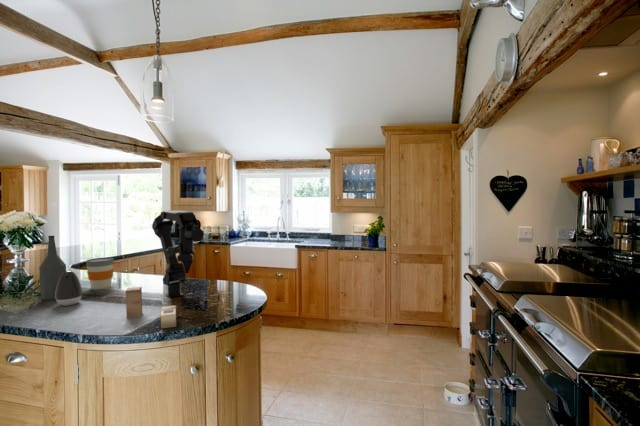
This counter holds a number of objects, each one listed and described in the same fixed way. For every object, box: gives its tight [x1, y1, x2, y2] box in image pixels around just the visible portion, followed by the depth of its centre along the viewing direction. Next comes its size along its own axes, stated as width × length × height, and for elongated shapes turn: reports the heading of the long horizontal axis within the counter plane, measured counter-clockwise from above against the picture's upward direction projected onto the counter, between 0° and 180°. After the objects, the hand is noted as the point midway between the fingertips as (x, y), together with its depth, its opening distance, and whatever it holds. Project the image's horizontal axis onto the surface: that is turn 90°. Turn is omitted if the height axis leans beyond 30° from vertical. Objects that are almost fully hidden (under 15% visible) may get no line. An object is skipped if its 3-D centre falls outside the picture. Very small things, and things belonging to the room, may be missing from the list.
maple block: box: [160, 305, 177, 329], centre depth 136 cm, size 5×5×11 cm
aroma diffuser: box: [54, 270, 83, 307], centre depth 161 cm, size 10×10×15 cm
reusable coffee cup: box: [85, 257, 115, 290], centre depth 190 cm, size 13×13×15 cm
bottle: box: [38, 235, 67, 301], centre depth 172 cm, size 10×10×30 cm
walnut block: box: [125, 286, 143, 319], centre depth 145 cm, size 5×5×11 cm
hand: (187, 273), depth 163 cm, fingers closed
